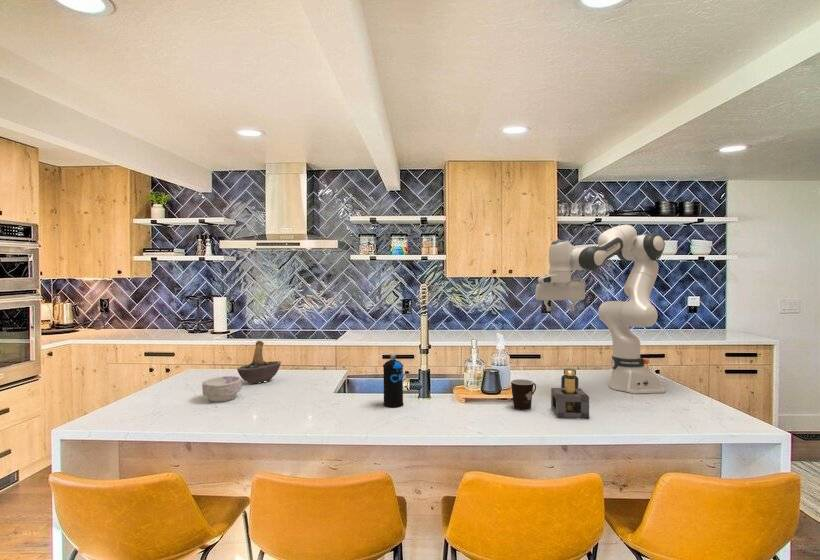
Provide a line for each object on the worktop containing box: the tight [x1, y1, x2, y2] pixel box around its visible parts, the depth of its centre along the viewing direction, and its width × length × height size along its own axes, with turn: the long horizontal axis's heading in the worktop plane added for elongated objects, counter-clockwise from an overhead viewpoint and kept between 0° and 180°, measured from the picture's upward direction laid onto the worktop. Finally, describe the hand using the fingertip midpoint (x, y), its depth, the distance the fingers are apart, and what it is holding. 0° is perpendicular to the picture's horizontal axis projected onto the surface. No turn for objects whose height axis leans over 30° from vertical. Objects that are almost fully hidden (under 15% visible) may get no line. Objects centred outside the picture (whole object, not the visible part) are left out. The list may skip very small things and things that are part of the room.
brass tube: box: [565, 370, 575, 411], centre depth 166 cm, size 4×4×16 cm
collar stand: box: [550, 387, 590, 420], centre depth 166 cm, size 11×11×8 cm
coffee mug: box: [510, 378, 537, 411], centre depth 174 cm, size 12×9×10 cm
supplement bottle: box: [560, 368, 580, 388], centre depth 185 cm, size 7×7×12 cm
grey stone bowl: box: [201, 375, 243, 403], centre depth 188 cm, size 15×15×8 cm
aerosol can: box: [382, 353, 405, 409], centre depth 178 cm, size 8×8×20 cm
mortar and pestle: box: [236, 340, 282, 384], centre depth 214 cm, size 15×17×20 cm
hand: (560, 310), depth 189 cm, fingers open, 8 cm apart
